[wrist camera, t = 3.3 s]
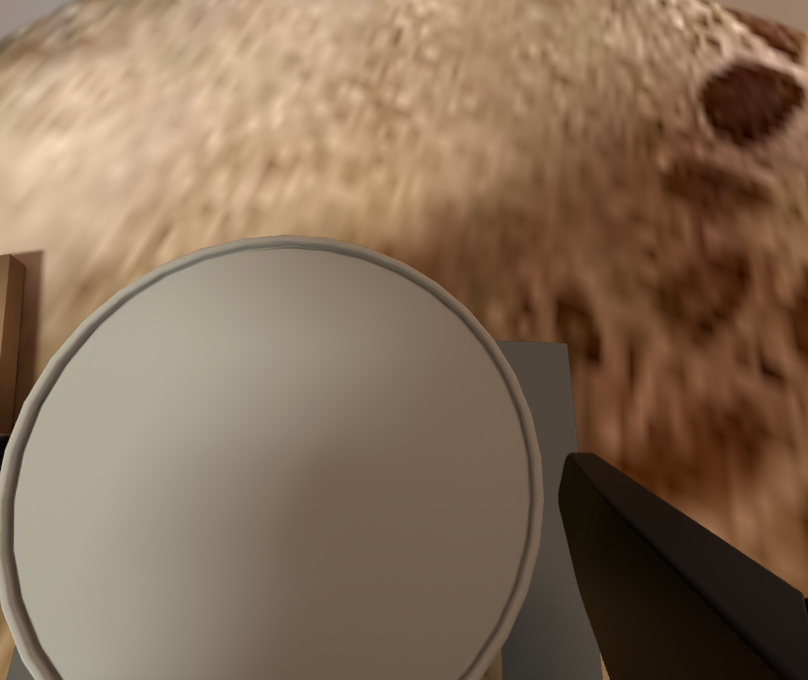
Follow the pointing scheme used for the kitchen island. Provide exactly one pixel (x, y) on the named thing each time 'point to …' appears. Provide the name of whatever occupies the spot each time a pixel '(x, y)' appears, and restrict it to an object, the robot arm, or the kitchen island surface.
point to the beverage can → (271, 478)
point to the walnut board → (9, 334)
